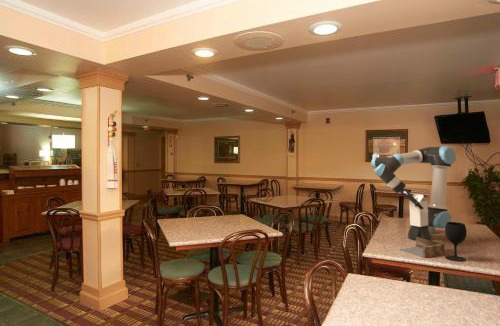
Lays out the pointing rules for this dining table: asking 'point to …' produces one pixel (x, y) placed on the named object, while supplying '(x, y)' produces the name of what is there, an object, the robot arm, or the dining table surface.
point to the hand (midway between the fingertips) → (424, 211)
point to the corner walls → (430, 247)
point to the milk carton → (418, 212)
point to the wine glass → (455, 238)
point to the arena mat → (414, 250)
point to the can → (432, 230)
